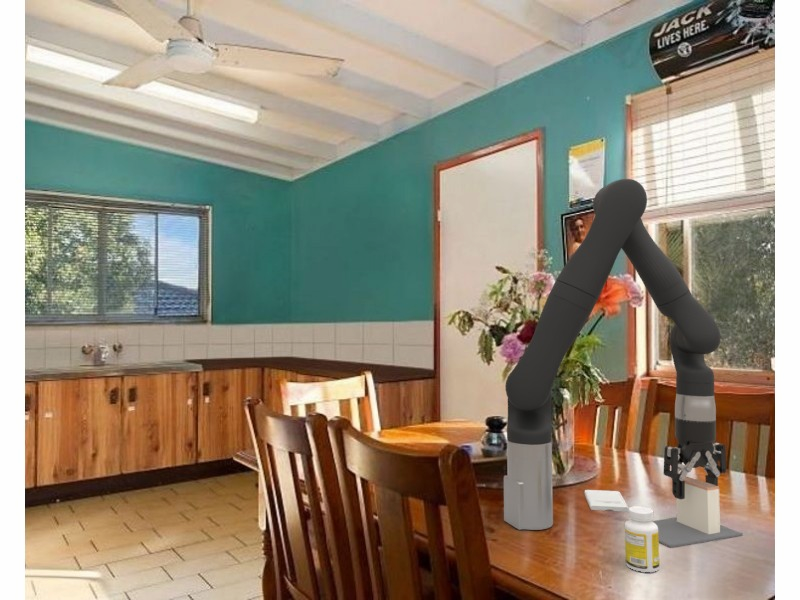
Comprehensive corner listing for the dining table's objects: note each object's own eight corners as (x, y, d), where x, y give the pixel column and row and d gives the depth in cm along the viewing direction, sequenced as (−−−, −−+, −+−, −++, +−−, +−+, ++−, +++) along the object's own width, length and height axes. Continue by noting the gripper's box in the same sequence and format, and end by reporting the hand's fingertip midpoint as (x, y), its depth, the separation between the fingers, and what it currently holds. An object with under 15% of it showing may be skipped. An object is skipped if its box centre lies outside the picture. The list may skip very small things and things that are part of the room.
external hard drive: (619, 497, 145) (629, 514, 132) (584, 496, 146) (590, 512, 134) (619, 491, 145) (629, 506, 133) (584, 489, 146) (590, 504, 134)
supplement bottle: (650, 560, 106) (649, 504, 106) (665, 573, 100) (664, 514, 101) (620, 561, 106) (619, 505, 106) (633, 574, 100) (632, 515, 101)
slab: (708, 534, 117) (707, 488, 117) (676, 521, 125) (675, 477, 125) (720, 532, 118) (719, 486, 118) (688, 519, 126) (687, 476, 126)
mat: (670, 547, 111) (670, 545, 111) (625, 527, 123) (625, 525, 123) (742, 535, 118) (742, 533, 118) (693, 516, 129) (693, 514, 129)
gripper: (682, 421, 116) (682, 505, 116) (736, 417, 121) (737, 498, 121) (654, 415, 124) (654, 494, 123) (706, 412, 128) (706, 488, 128)
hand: (695, 496), depth 122 cm, fingers open, 8 cm apart
